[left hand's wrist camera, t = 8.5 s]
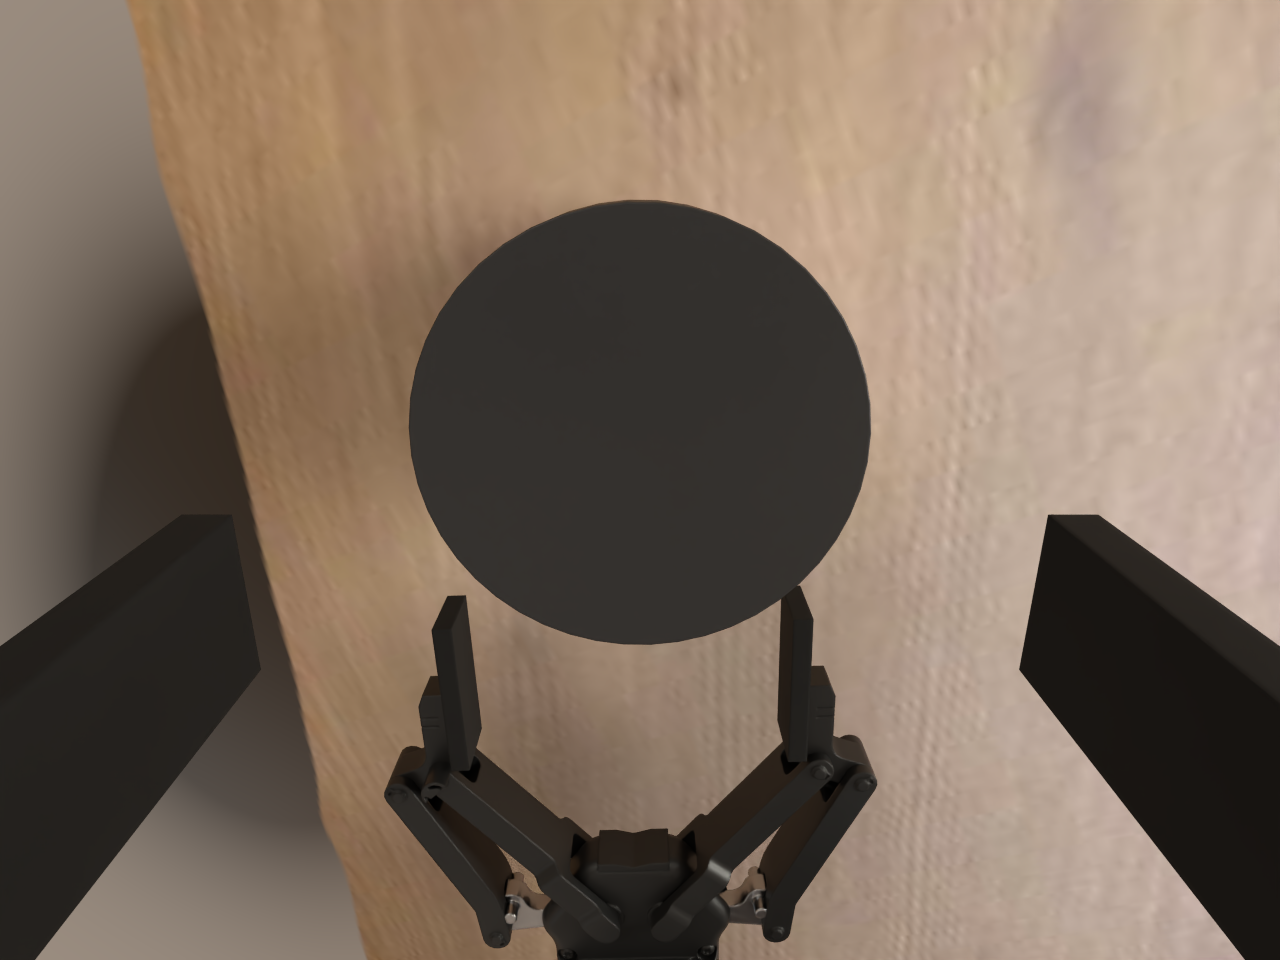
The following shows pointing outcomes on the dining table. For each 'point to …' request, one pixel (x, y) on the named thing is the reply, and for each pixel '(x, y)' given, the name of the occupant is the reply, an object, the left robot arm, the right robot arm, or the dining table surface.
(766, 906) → the right robot arm
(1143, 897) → the dining table surface
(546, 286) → the lid
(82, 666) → the left robot arm
